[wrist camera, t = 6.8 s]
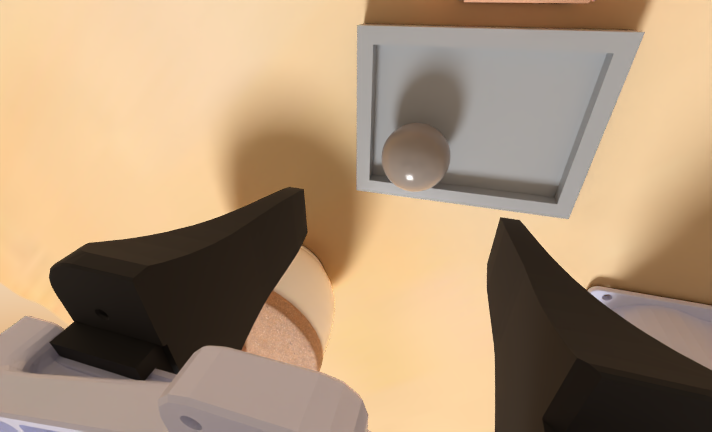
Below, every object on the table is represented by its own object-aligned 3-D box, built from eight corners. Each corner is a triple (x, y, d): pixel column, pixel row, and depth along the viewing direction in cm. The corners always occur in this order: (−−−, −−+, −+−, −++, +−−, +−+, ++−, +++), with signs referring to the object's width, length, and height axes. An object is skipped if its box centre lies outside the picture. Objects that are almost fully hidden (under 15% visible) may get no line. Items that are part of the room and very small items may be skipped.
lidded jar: (325, 331, 32) (280, 436, 24) (223, 277, 32) (146, 366, 24) (374, 258, 25) (334, 369, 18) (247, 189, 25) (152, 273, 18)
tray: (632, 29, 15) (644, 32, 14) (563, 207, 20) (568, 218, 19) (363, 23, 17) (357, 25, 16) (361, 181, 22) (356, 190, 21)
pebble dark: (456, 116, 18) (454, 139, 15) (446, 177, 20) (443, 208, 17) (390, 111, 19) (375, 132, 16) (386, 170, 21) (373, 198, 18)
